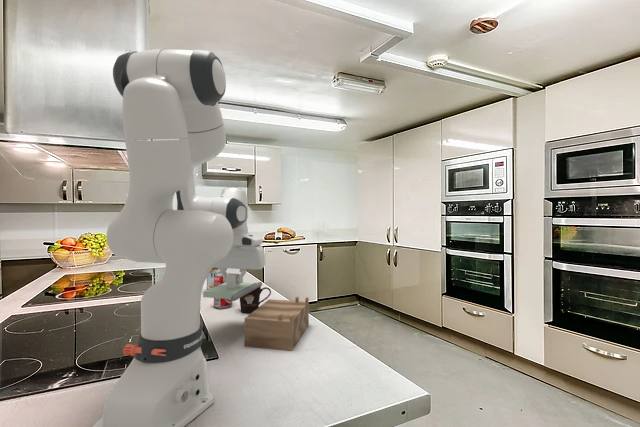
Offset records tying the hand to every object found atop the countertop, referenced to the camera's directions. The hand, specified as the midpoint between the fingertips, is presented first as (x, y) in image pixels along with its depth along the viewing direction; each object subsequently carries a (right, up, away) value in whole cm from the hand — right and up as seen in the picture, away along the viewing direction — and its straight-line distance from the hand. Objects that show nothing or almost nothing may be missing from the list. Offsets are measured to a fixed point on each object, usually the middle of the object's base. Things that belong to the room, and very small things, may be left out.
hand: (233, 282), depth 105 cm
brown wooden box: (+15, -16, -2) cm, 22 cm away
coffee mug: (+2, -16, +21) cm, 26 cm away
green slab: (-1, -3, 0) cm, 3 cm away
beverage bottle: (-20, -15, +47) cm, 53 cm away
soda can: (-11, -15, +26) cm, 32 cm away
